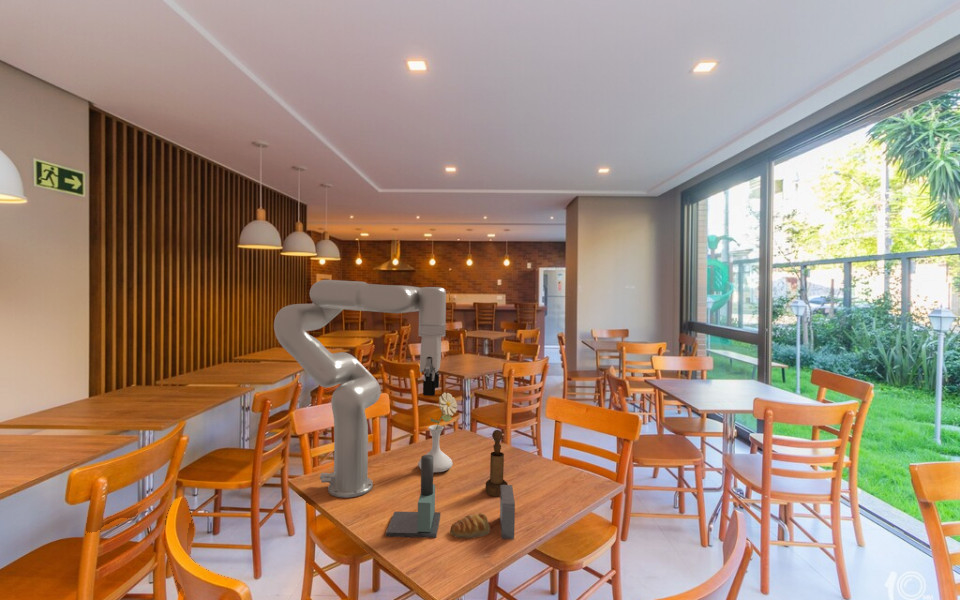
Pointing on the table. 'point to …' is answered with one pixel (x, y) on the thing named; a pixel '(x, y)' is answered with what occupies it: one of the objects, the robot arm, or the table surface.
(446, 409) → the flower in vase
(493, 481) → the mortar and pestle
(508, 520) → the block
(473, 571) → the table surface
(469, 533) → the pastry
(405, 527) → the dark grey flat plate
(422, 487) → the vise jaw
